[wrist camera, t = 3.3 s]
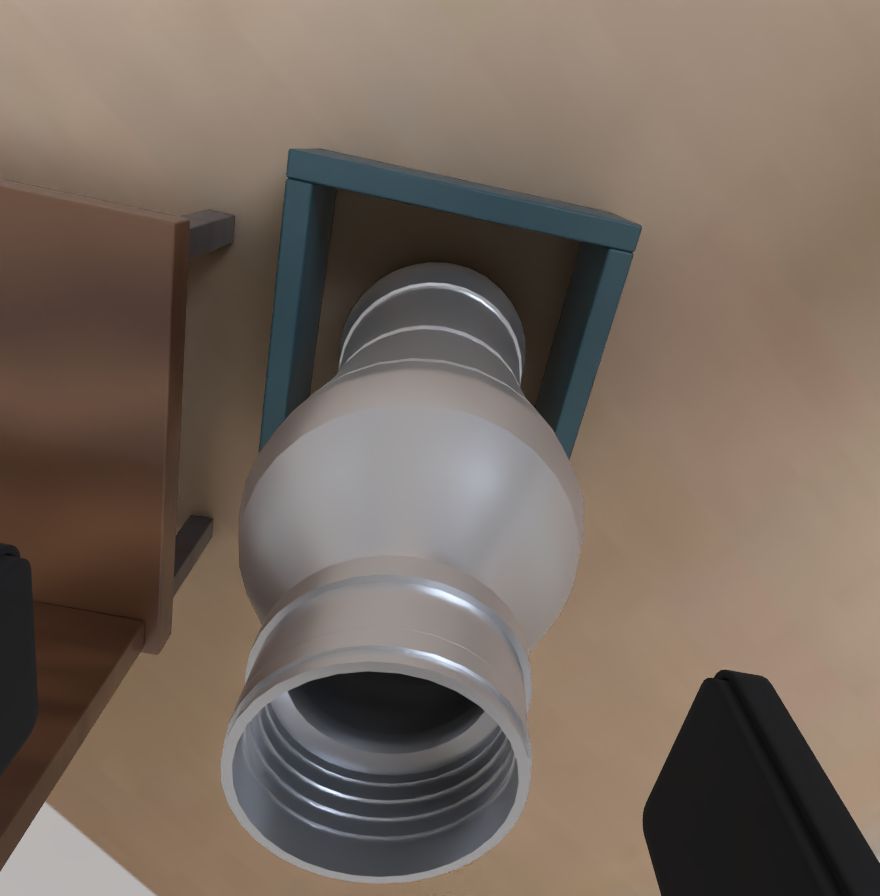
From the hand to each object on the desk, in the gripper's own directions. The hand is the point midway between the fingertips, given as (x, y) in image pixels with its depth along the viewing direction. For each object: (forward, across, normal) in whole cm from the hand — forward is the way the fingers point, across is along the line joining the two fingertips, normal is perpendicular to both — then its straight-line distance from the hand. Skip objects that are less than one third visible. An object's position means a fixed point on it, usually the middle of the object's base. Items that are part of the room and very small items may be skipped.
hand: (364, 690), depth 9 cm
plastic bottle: (+18, 0, 0) cm, 19 cm away
